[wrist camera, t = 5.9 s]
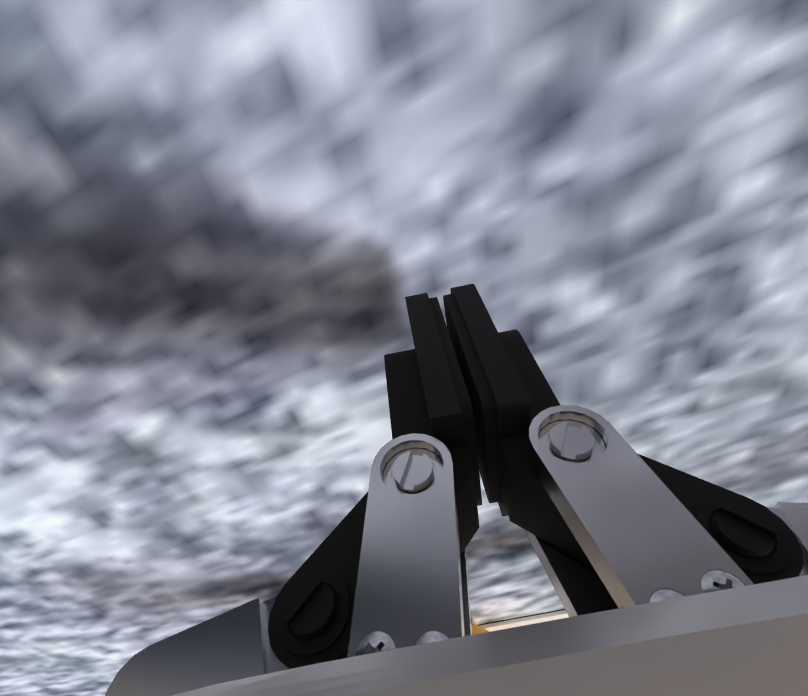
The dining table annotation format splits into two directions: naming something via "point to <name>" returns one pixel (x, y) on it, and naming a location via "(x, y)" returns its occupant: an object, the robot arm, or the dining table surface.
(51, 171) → the dining table surface
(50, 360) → the dining table surface
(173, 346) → the dining table surface
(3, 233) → the dining table surface
